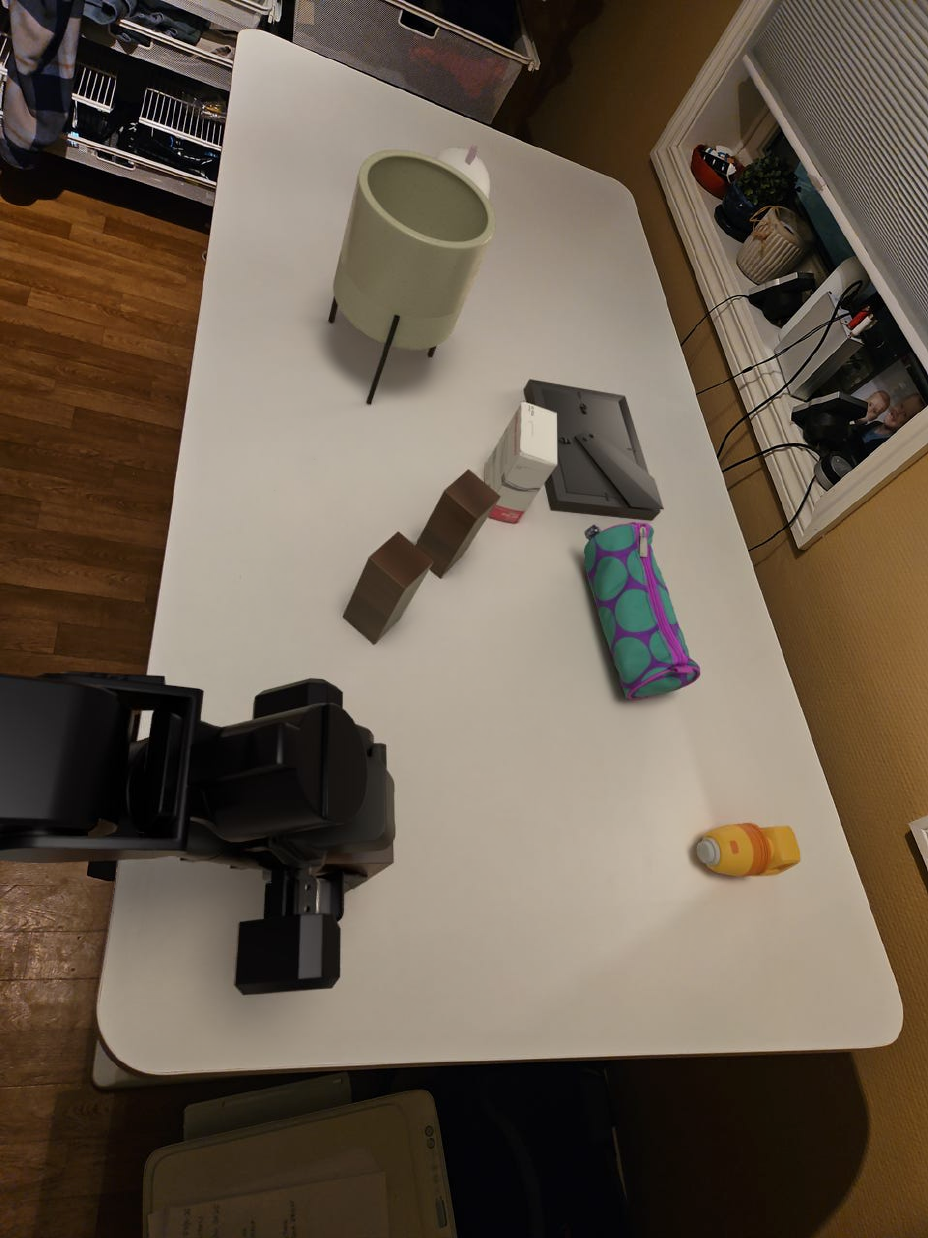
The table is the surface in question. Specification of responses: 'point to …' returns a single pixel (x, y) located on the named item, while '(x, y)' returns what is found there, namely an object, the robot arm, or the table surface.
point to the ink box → (522, 460)
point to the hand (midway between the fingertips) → (362, 844)
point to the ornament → (467, 165)
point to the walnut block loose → (356, 862)
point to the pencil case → (637, 611)
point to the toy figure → (749, 850)
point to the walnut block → (386, 587)
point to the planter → (410, 251)
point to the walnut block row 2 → (456, 521)
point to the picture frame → (595, 454)
